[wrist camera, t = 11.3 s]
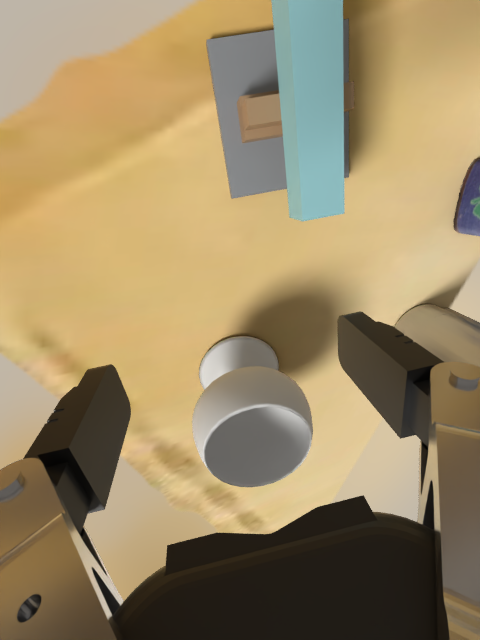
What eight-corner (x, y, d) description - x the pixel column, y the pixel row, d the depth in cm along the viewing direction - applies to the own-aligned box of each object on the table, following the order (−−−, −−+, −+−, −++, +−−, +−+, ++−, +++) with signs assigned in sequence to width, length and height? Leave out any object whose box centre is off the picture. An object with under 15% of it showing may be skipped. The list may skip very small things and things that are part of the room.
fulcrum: (343, 23, 29) (377, -14, 24) (344, 177, 35) (372, 175, 30) (206, 44, 28) (209, 10, 23) (231, 198, 34) (238, 200, 29)
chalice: (214, 315, 40) (224, 380, 27) (299, 346, 44) (346, 415, 31) (179, 394, 45) (172, 483, 31) (259, 415, 49) (285, 502, 35)
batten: (319, -31, 23) (342, -72, 19) (326, 210, 31) (344, 213, 27) (269, -24, 23) (283, -65, 19) (289, 217, 30) (302, 221, 27)
